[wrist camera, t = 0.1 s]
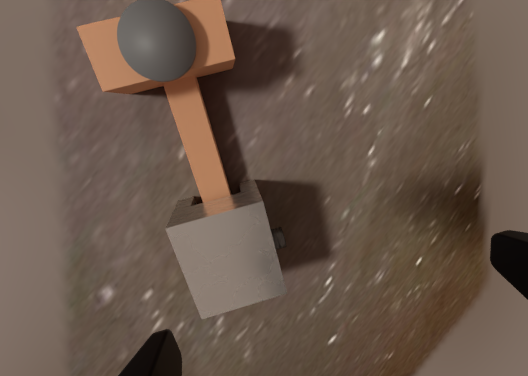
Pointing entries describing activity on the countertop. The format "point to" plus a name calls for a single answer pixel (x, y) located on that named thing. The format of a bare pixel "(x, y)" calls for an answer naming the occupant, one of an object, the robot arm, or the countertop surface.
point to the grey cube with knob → (227, 250)
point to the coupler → (168, 69)
